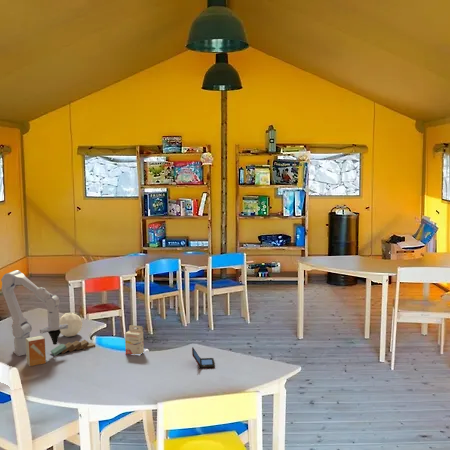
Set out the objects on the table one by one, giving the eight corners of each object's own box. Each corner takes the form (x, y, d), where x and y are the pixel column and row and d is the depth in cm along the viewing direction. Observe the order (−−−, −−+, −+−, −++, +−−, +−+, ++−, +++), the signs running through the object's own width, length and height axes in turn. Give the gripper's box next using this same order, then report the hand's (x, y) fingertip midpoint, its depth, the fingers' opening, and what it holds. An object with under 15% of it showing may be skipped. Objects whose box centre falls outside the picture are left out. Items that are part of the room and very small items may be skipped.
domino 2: (61, 351, 298) (72, 344, 302) (57, 349, 302) (69, 341, 305) (62, 354, 299) (74, 346, 302) (59, 351, 302) (70, 344, 306)
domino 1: (53, 353, 295) (65, 345, 299) (50, 350, 299) (62, 343, 303) (55, 355, 296) (66, 348, 300) (51, 353, 300) (63, 345, 304)
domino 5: (83, 347, 305) (95, 344, 310) (79, 345, 309) (91, 342, 313) (83, 350, 306) (95, 347, 310) (79, 348, 309) (91, 345, 314)
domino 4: (76, 348, 303) (88, 341, 307) (73, 345, 307) (84, 339, 311) (77, 350, 303) (89, 344, 307) (74, 348, 307) (85, 341, 311)
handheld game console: (214, 368, 275) (214, 353, 274) (192, 369, 274) (192, 354, 273) (213, 359, 287) (213, 345, 286) (192, 360, 286) (192, 346, 286)
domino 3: (69, 349, 300) (80, 342, 304) (65, 347, 304) (76, 340, 308) (70, 352, 301) (81, 344, 305) (66, 349, 305) (77, 342, 309)
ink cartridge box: (125, 354, 296) (124, 327, 294) (129, 351, 301) (128, 324, 299) (139, 356, 293) (138, 328, 291) (144, 353, 298) (143, 326, 296)
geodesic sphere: (76, 319, 342) (64, 304, 334) (92, 323, 334) (80, 307, 325) (61, 339, 333) (48, 324, 325) (77, 343, 325) (64, 328, 317)
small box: (29, 366, 281) (28, 341, 279) (26, 363, 286) (25, 338, 284) (46, 363, 285) (45, 338, 284) (42, 359, 290) (41, 335, 289)
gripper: (42, 323, 289) (44, 348, 291) (69, 318, 298) (71, 343, 299) (37, 320, 295) (39, 345, 296) (64, 315, 303) (65, 339, 305)
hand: (54, 344), depth 298 cm, fingers closed
